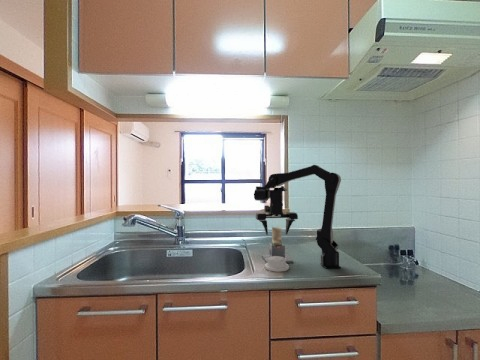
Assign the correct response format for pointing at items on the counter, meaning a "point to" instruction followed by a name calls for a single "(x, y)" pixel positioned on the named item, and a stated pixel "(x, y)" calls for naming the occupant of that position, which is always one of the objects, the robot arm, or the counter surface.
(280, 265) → the mechanical component
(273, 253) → the metal stand
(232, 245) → the counter surface
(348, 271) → the counter surface
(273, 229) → the birch post
